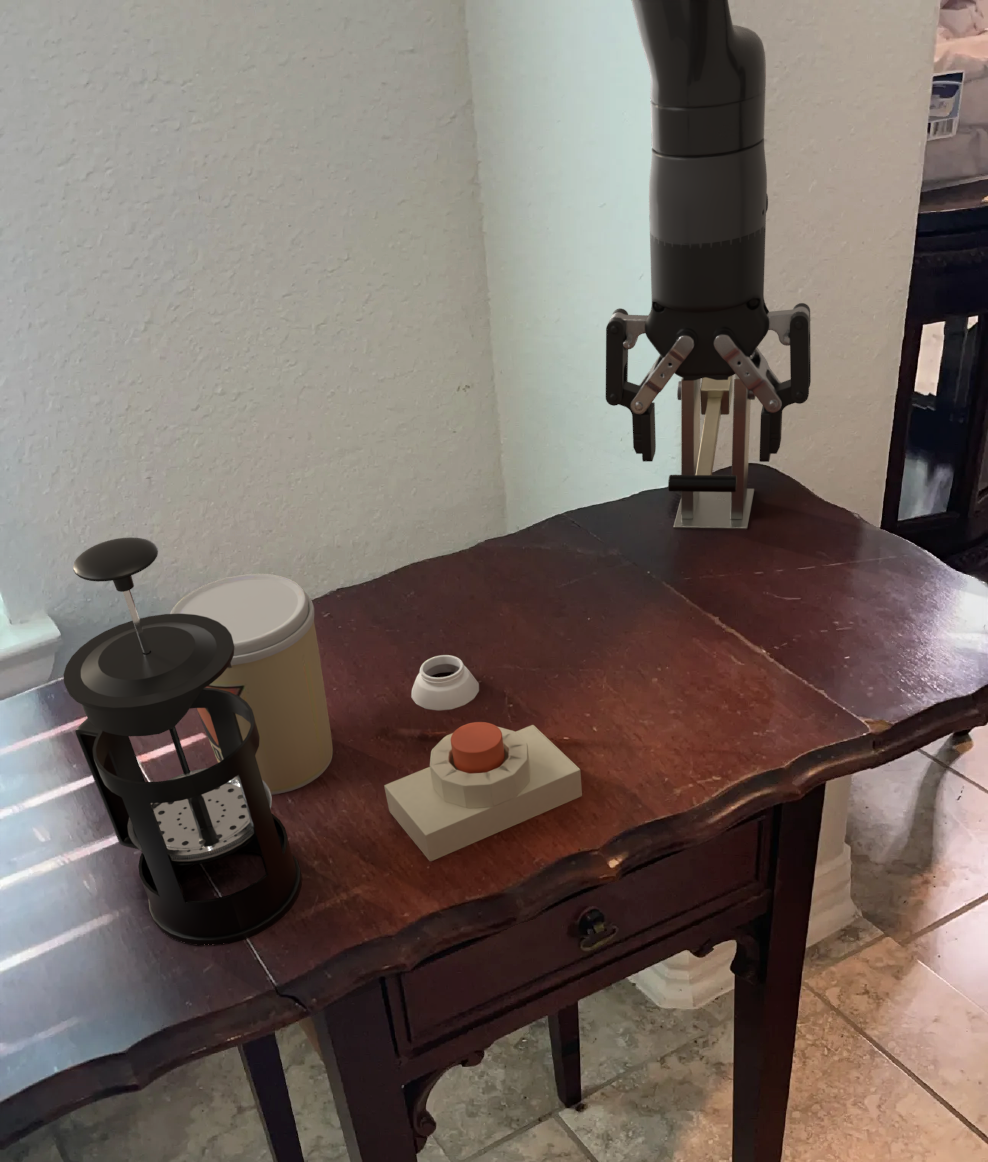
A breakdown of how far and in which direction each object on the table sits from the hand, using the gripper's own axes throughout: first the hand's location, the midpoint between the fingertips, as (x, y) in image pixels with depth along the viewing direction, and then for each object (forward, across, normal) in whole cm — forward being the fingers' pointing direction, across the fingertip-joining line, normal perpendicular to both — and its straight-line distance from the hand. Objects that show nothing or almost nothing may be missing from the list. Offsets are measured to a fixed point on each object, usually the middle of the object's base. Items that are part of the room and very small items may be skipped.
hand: (706, 457), depth 94 cm
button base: (+10, -11, -30) cm, 33 cm away
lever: (+1, 0, +5) cm, 5 cm away
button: (+6, -11, -30) cm, 32 cm away
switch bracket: (+10, 0, +9) cm, 13 cm away
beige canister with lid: (+10, -26, -27) cm, 39 cm away
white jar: (+10, -16, -19) cm, 27 cm away
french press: (+10, -25, -40) cm, 48 cm away
